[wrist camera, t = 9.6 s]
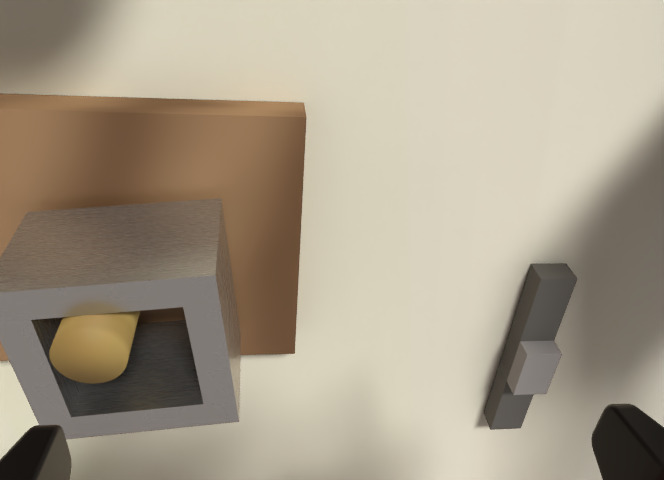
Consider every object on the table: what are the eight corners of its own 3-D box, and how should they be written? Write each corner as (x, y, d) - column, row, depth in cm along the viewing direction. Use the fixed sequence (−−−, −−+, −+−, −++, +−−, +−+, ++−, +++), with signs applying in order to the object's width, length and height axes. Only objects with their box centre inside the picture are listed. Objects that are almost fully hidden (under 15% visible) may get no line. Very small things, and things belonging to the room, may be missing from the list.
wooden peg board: (303, 102, 19) (320, 199, 14) (293, 332, 25) (302, 462, 20) (-100, 90, 18) (-247, 193, 12) (-15, 339, 23) (-92, 480, 18)
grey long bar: (566, 263, 24) (586, 291, 23) (513, 411, 29) (526, 442, 28) (531, 264, 24) (549, 292, 22) (483, 412, 29) (496, 443, 27)
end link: (221, 198, 19) (215, 275, 16) (240, 335, 22) (239, 421, 19) (27, 212, 18) (-22, 294, 15) (77, 349, 22) (47, 440, 19)
